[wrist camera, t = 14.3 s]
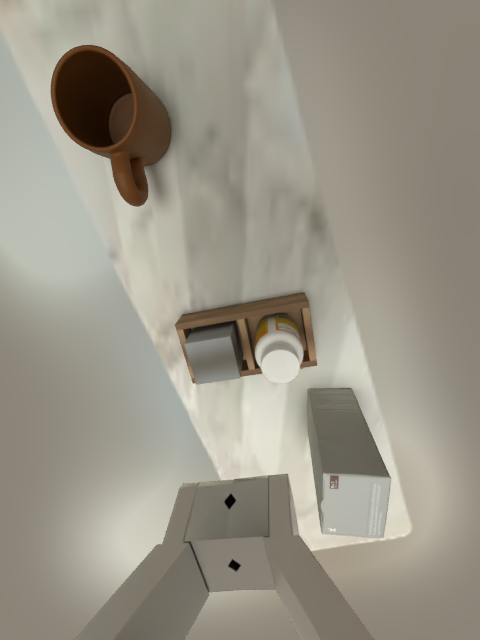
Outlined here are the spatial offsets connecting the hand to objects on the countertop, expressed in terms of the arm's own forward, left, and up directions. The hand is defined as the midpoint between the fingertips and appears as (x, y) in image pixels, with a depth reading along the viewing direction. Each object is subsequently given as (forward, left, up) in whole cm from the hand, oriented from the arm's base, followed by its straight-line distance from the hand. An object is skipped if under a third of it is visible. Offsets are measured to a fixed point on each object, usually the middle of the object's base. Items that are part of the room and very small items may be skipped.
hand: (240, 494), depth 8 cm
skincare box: (+22, +6, -31) cm, 39 cm away
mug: (-16, -10, -31) cm, 37 cm away
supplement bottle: (+8, +1, -31) cm, 32 cm away
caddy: (+8, -3, -31) cm, 32 cm away
